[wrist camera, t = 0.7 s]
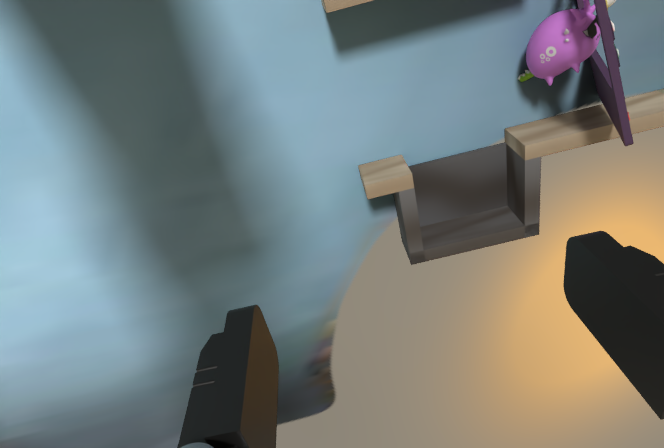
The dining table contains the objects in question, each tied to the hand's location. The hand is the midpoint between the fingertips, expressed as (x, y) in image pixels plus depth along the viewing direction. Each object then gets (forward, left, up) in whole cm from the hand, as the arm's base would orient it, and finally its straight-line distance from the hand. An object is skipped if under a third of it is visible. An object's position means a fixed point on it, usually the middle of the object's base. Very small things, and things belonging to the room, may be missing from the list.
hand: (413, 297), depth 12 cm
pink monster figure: (0, +13, -19) cm, 23 cm away
